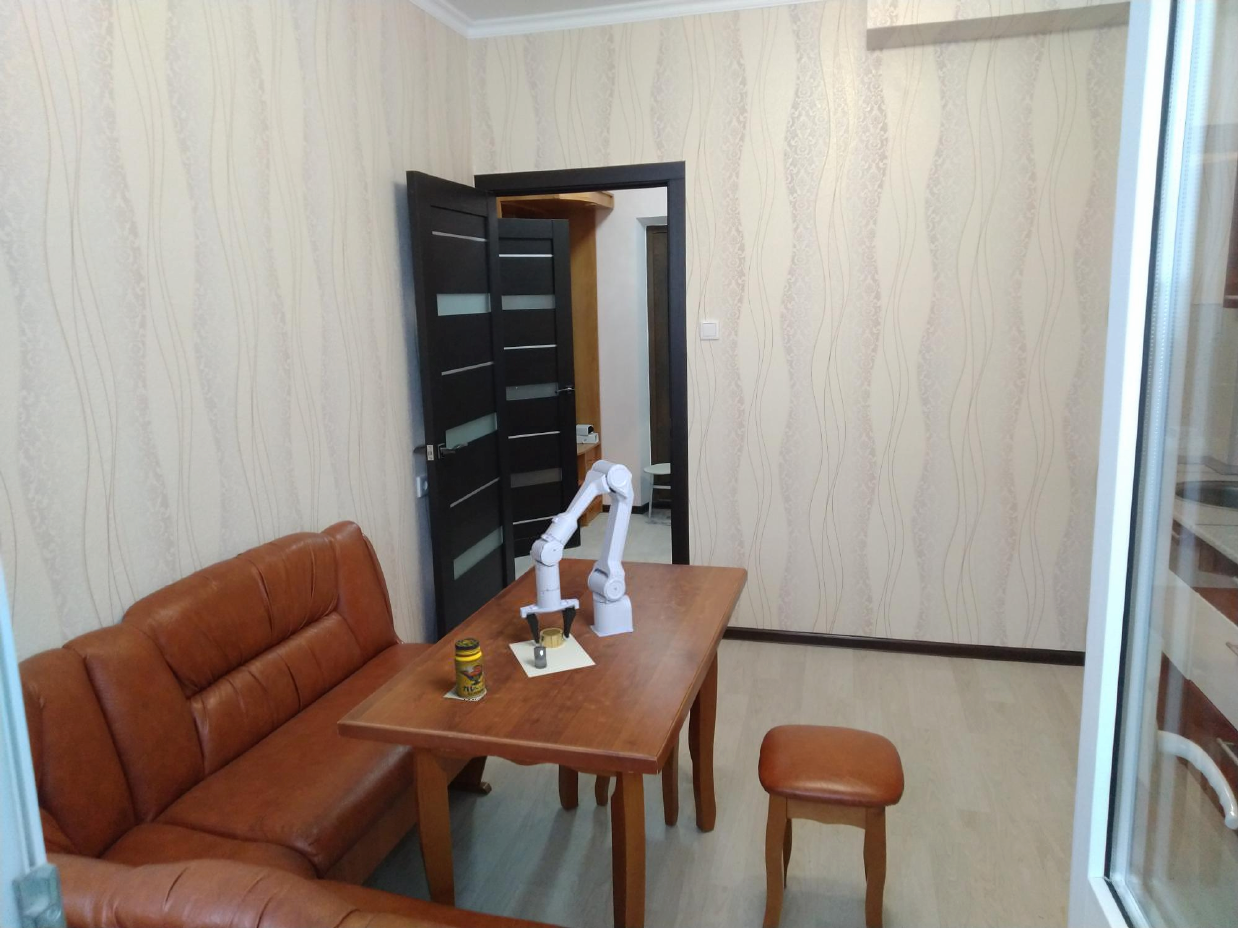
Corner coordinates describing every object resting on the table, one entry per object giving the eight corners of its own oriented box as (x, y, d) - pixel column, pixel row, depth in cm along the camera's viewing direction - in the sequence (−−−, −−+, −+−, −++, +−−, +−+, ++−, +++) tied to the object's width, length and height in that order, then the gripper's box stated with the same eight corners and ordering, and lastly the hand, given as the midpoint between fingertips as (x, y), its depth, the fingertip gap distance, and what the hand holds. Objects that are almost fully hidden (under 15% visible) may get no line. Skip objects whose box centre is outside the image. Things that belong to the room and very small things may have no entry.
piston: (545, 662, 200) (543, 644, 200) (548, 667, 198) (547, 649, 197) (533, 665, 200) (532, 647, 199) (536, 669, 197) (535, 651, 196)
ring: (559, 637, 215) (559, 626, 215) (566, 645, 210) (565, 634, 210) (538, 641, 213) (537, 630, 213) (544, 649, 208) (543, 638, 208)
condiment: (477, 701, 184) (473, 649, 181) (442, 697, 186) (438, 646, 184) (492, 686, 190) (488, 636, 188) (458, 683, 193) (454, 633, 191)
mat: (570, 635, 218) (570, 633, 218) (595, 666, 199) (595, 664, 198) (508, 646, 213) (508, 644, 213) (529, 679, 193) (528, 676, 193)
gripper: (571, 578, 215) (575, 629, 218) (515, 587, 210) (519, 638, 213) (580, 586, 209) (583, 638, 211) (522, 595, 204) (526, 648, 206)
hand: (551, 639), depth 212 cm, fingers open, 7 cm apart
